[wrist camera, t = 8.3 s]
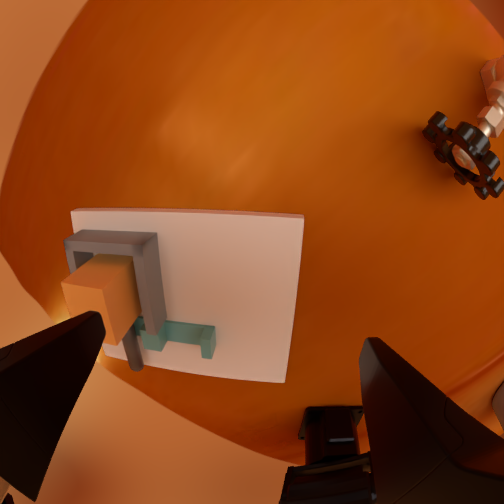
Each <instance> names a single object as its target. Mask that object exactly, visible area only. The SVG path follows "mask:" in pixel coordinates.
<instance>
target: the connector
mask: <svg viewBox="0 0 504 504" xmlns="http://www.w3.org/2000/svg"><path fill="white" fill-rule="evenodd" d="M61 286H62V289H63V293H64V296H65V300H66V303H67V307H68V310H69V313H70V316H71V318H73V317H75V316H77V315H80V314H82V313H85V312H87V311H89V310H92V311H97V312H99V313H100V314H101V316H102V319H103V322H104V326H105V329H106V336H105V339H104V341H103V343H106V344H110V345H114V346H117V345H118V344H119V343H120V341H121V340H122V343H123V346H124V350H125V353H126V356H127V359H128V363H129V366H130V368H131V369H132V370H134V371H140V370H142V369H143V367H144V362H143V359H142V355H141V351H140V347H139V343H138V339H137V335H136V331H135V327H134V322H135V320H136V319H137V317H138V316H139V315H140V313H141V312H142V309H141V303H140V298H139V293H138V287H137V281H136V275H135V268H134V261H133V256H126V255H114V254H102V253H98V254H97V255H95V256H94V257H93V258H91V259H90V260H89V261H87V262H86V263H85V264H83V265H82V266H81V267H79V268H78V269H77V270H76V271H74V272H73V273H72V274H70V275H69V276H68V277H67V278H65V279H64V280H63V281H62V282H61Z"/></svg>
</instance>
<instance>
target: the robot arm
mask: <svg viewBox="0 0 504 504" xmlns="http://www.w3.org/2000/svg"><path fill="white" fill-rule="evenodd" d="M105 336H106V329H105V326H104V322H103V319H102V316H101V314H100V313H99V312H97V311H92V310H89V311H87V312H85V313H82V314H80V315H77V316H75V317H73V318H70V319H68V320H66V321H63V322H61V323H59V324H56V325H54V326H52V327H49V328H47V329H45V330H42V331H40V332H38V333H35V334H33V335H31V336H29V337H27V338H24V339H22V340H20V341H17V342H15V343H12V344H10V345H8V346H5V347H3V348H1V349H0V504H14V502H13V498H12V495H10V494H9V493H8V490H9V489H10V487H11V485H12V486H13V487H14V488H15V489H17V490H18V491H20V492H21V493H22V494H24V495H25V496H26V497H28V498H29V499H31V500H32V501H34V502H35V501H36V499H37V497H38V494H39V491H40V488H41V485H42V482H43V480H44V477H45V474H46V471H47V469H48V466H49V464H50V461H51V458H52V456H53V453H54V451H55V448H56V446H57V443H58V441H59V439H60V436H61V434H62V432H63V430H64V427H65V425H66V423H67V421H68V418H69V416H70V414H71V412H72V410H73V408H74V405H75V403H76V401H77V399H78V397H79V395H80V393H81V391H82V389H83V387H84V385H85V383H86V381H87V379H88V377H89V375H90V373H91V371H92V368H93V366H94V364H95V361H96V359H97V356H98V354H99V351H100V349H101V346H102V344H103V341H104V339H105ZM359 368H360V380H361V393H362V404H363V407H362V406H359V407H310V408H307V409H306V411H305V414H304V418H303V421H302V424H301V428H300V431H299V434H298V439H300V440H305V465H304V466H297V467H294V466H290V467H288V470H287V473H286V475H285V481H284V485H283V489H282V494H281V499H280V501H279V504H504V439H503V438H501V437H500V436H498V435H497V434H496V433H494V432H493V431H491V430H490V429H488V428H487V427H486V426H484V425H483V424H481V423H480V422H479V421H477V420H476V419H475V418H473V417H472V416H471V415H469V414H468V413H467V412H465V411H464V410H463V409H462V408H460V407H459V406H458V405H457V404H456V403H454V402H453V401H452V400H451V399H450V398H449V397H446V395H445V394H444V393H443V392H442V391H441V390H439V389H438V388H437V387H436V386H435V385H434V384H433V383H431V382H430V381H429V380H428V379H427V378H426V377H424V376H423V375H422V374H421V373H420V372H419V371H417V370H416V369H415V368H414V367H413V366H412V365H410V364H409V363H408V362H407V361H406V360H405V359H403V358H402V357H401V356H400V355H399V354H398V353H396V352H395V351H394V350H393V349H392V348H390V347H389V346H388V345H387V344H386V343H385V342H383V341H382V340H381V339H380V338H378V337H368V338H366V339H365V341H364V345H363V348H362V351H361V354H360V357H359ZM363 414H364V415H365V421H366V427H367V432H368V438H369V445H370V451H368V453H364V454H360V448H359V441H358V434H357V428H356V427H357V425H358V423H359V421H360V420H361V418H362V416H363ZM369 472H371V473H369Z"/></svg>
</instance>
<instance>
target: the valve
mask: <svg viewBox="0 0 504 504" xmlns="http://www.w3.org/2000/svg"><path fill="white" fill-rule="evenodd" d="M480 75H481V78H482V81H483V84H484V87H485V91H486V96H487V100H488V102H489V105H490V106H485V107H484V108H483V109H482V111H481V112H480V113H479V114H478V116H477V123H478V125H479V126H478V127H475V126H473V125H471V124H469V123H467V122H460V123H459V124H458V126H457V127H456V128H455V129H451V128H447V127H446V126H445V124H444V122H445V121H446V120H447V117H446V116H445V115H444V114H443V113H441V112H439V111H436V112H435V114H434V115H433V116H432V117H431V118H430V119H429V120H428V125H427V126H426V127H425V128H424V130H423V131H422V133H423V135H424V137H425V138H426V139H427V140H428V141H430V142H431V143H435V144H436V146H437V147H438V148H437V149H436V150H435V151H434V155H435V156H436V158H437V159H438V160H439V161H440V162H442V163H446V162H447V163H448V164H449V165H450V166H451V167H452V168H453V169H454V171H455V173H454V177H455V179H456V180H457V181H458V182H459V183H460V184H461V185H465V184H466V183H467V182H469V183H470V184H472V185H473V187H474V191H475V193H476V194H477V195H478V196H479V197H480V198H481V199H482V200H485V199H486V198H487V197H488V195H489V194H490V195H491V196H492V197H494V198H498V197H499V195H500V194H501V192H502V191H503V190H504V182H503V180H502V179H501V178H500V177H499V178H498V180H497V181H495V180H493V179H492V177H493V176H494V174H495V171H496V170H497V168H498V167H499V165H500V161H499V159H498V157H497V156H496V155H495V154H494V153H493V152H492V151H490V150H489V149H490V142H489V139H488V138H489V137H492V138H496V137H498V136H499V134H500V133H501V131H502V130H503V128H504V55H502V56H501V57H500V58H497V59H493V60H489V61H488V62H487V63H486V64H485V65H484V67H483V68H482V69H481V70H480ZM446 140H448V141H450V142H453V143H452V144H451V145H450V146H449V147H448V145H447V142H446ZM475 165H476V167H477V168H478V170H479V173H480V175H477V174H474V173H473V172H471V171H470V170H472V169H473V168H474V167H475ZM468 169H469V170H468Z"/></svg>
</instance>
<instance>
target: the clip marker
mask: <svg viewBox="0 0 504 504" xmlns="http://www.w3.org/2000/svg"><path fill="white" fill-rule="evenodd" d="M149 336H150V340H151V345H152V349H153V350H154V351H159V352H162V350H163V348H164V346H165V344H166V343H167V341H173V342H179V343H186V344H193V345H200V347H201V356H202V358H204V359H212V357H213V354H214V351H215V347H216V333H215V326H210V325H201V324H193V323H185V322H177V321H170V320H165V322H164V323H163V325H162V327H161V329H160V330H159V332H158V334H157V335H156V336H155V335H149Z"/></svg>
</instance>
